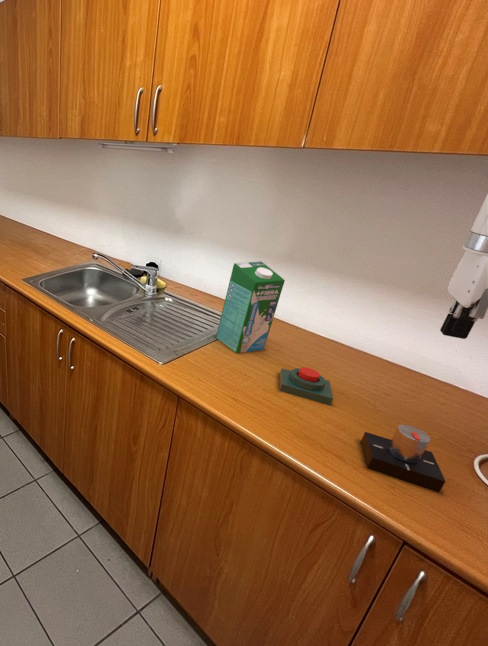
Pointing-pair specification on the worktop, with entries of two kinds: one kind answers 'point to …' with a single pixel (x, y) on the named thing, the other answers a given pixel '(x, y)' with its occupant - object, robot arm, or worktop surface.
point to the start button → (308, 374)
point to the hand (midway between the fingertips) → (452, 335)
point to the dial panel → (401, 464)
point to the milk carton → (249, 306)
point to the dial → (408, 444)
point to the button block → (305, 386)
